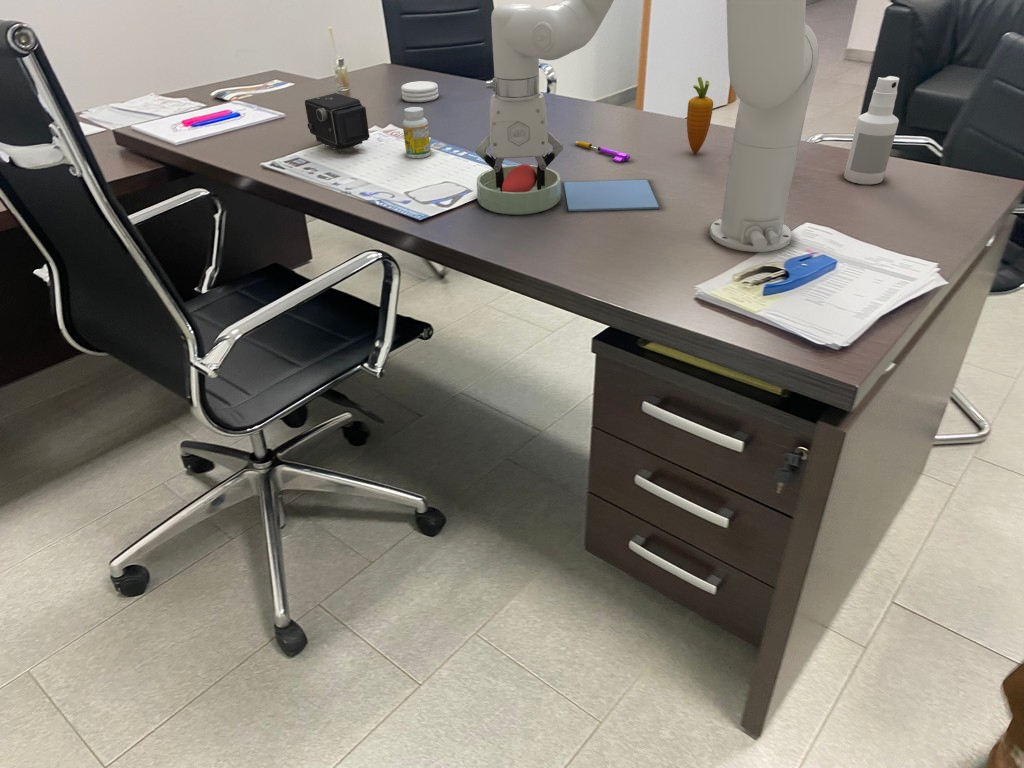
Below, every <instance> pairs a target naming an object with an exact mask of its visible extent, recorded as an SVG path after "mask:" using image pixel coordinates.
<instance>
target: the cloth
mask: <svg viewBox="0 0 1024 768" xmlns="http://www.w3.org/2000/svg"><path fill="white" fill-rule="evenodd" d="M563 186H564V193H565V199H566V205H567V212H596V211H597V212H599V211H630V210H631V211H632V210H659V209H660V206H659V204H658V201H657V199H656V197H655V194H654V192H653V190H652V188H651V186H650V184H649V180H648V179H628V180H627V179H625V180H591V181H590V180H589V181H588V180H587V181H564V182H563Z"/></svg>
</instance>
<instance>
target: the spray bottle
mask: <svg viewBox="0 0 1024 768" xmlns="http://www.w3.org/2000/svg"><path fill="white" fill-rule="evenodd" d="M899 83H900V77H898V76H893V75H888V76H886V77H879V76H878V77H877V81H876V85H875V87H874V89H873V90H872V94H871V99H870V102H869V106H868V108H867V109H868V110H867V112H865V113H861V114H860V115H859V116H858V118H857V120H856V123H855V124H856V125H855V128H854V132H853V137H852V141H851V144H850V145H851V146H850V149H849V154H848V157H847V161H846V166H845V170H844V173H843V178H844V179H845V180H847V181H848V182H851V183H854V184H858V185H867V186H868V185H869V186H870V185H877V184H880V183H882V182H883V180H884V177H885V175H886V171H887V167H888V163H889V159H890V155H891V152H892V147H893V144H894V141H895V137H896V133H897V130H898V126H899V124H900V123H899V122H900V120H899V118H898V117H897V116H895V114H894V113H893V112H894V109H895V105H896V103H895V102H896V100H897V95H898V86H899Z"/></svg>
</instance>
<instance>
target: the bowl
mask: <svg viewBox="0 0 1024 768" xmlns="http://www.w3.org/2000/svg"><path fill="white" fill-rule="evenodd" d="M518 165H519V164H510V165H509V164H508V165H502V168H503V169H504V180H505V178H506V176H507V175H508V173H509V172H510V171H511V170H512V169H514V168H515V167H516V166H518ZM529 165H530V166H531V167H532V168H534V170H535V171H536V174H537V167H538V165H534V164H529ZM561 179H562V178H561V174H560V173H559V172H557V171H556V170H554V169H551V168H549V167H546V169H545V186H541V189H540V190H537V181H536V184H535V186H534V187H533V188H532V189H531V190H530V191H529V192H502V191H500V188H496V172H495V171H494V169H493V168H490V169H488V170H486V171H483V172H481V173H480V174H479V175H478V176H477V177H476V195H477V196H476V197H477V203H478V204H479V205H480V206H481V207H483V208H484V209H486V210H487V211H490V212H492V213H497V214H503V215H513V216H514V215H515V216H516V215H519V216H520V215H521V216H522V215H531V214H536V213H541V212H544V211H547V210H550V209H551V208H553V207H555V206H557V204H558V203H559V202H560V200H561V199H562V198H561V197H562V195H561V193H562V189H561V188H562V182H561V181H562V180H561Z"/></svg>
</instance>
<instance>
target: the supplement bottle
mask: <svg viewBox="0 0 1024 768" xmlns="http://www.w3.org/2000/svg"><path fill="white" fill-rule="evenodd" d="M424 112H425V111H424V108H423V107H421V106H409V107H406V108H404V111H403V113H404V117H405V119H403V121H402V130H403V138H404V146H405V154H406V156H407V157H408V158H411V159H423V158H427V157H429V156H430V155H431V154H432V153H431V152H432V150H431V149H432V148H431V141H430V131H429V130H430V129H429V122H428V119H427V118H425V117H424V115H425V113H424Z"/></svg>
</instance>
